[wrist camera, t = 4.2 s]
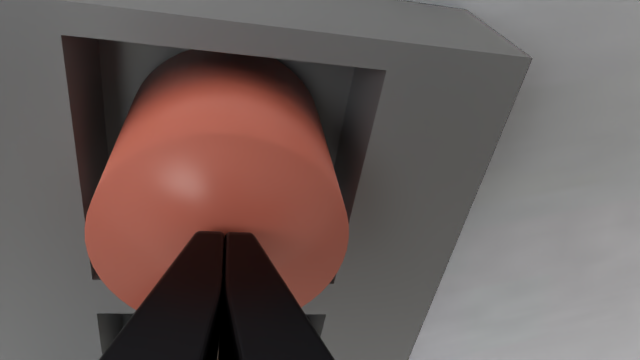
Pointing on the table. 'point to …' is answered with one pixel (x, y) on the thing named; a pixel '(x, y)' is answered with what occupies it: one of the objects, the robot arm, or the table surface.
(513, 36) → the table surface
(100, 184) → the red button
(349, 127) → the console
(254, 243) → the robot arm
